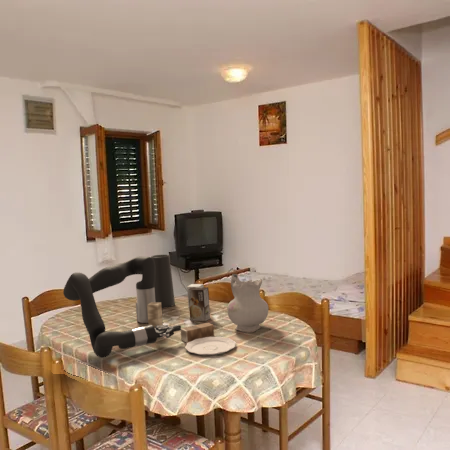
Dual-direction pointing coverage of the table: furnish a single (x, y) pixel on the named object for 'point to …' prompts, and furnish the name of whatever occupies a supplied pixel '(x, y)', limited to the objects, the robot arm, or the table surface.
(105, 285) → the robot arm
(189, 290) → the coffee box
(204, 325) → the walnut block
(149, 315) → the birch block
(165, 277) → the vase
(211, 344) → the plate
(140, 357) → the table surface
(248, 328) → the ceramic pitcher
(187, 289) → the supplement box
